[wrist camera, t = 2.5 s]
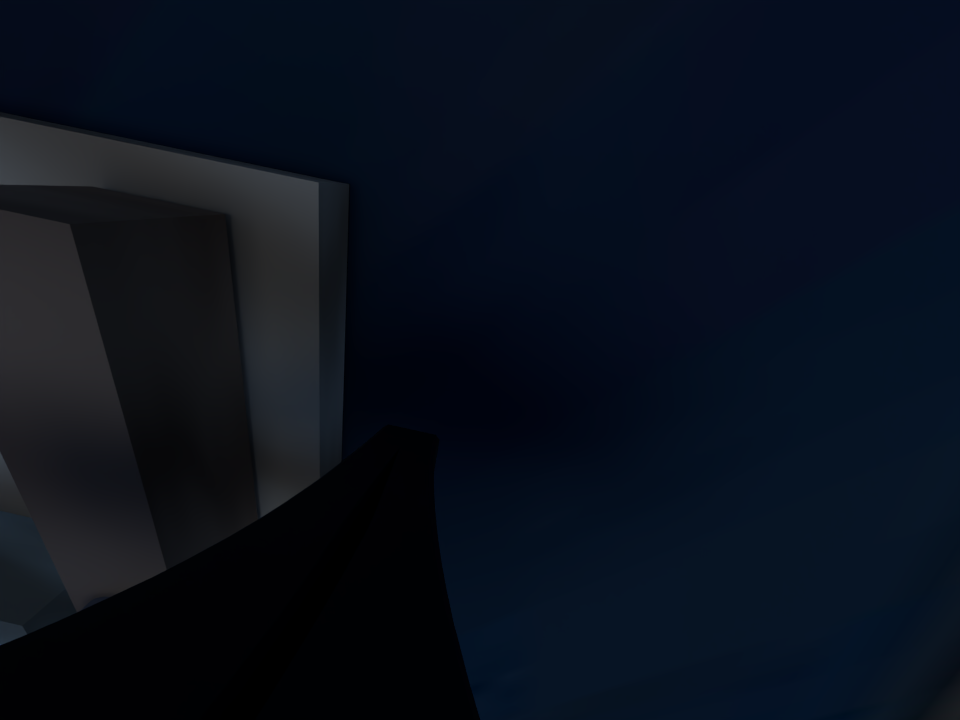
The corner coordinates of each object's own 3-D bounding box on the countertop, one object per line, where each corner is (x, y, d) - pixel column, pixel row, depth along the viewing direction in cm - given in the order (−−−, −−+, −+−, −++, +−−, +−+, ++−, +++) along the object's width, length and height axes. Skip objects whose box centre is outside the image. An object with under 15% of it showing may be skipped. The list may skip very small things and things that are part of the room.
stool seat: (338, 573, 15) (271, 710, 11) (-2, 496, 16) (-187, 602, 12) (349, 184, 9) (206, 175, 5) (-223, 66, 9) (-807, -35, 5)
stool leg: (262, 564, 13) (167, 699, 9) (180, 545, 13) (56, 673, 9) (225, 214, 8) (-4, 228, 4) (92, 186, 8) (-233, 180, 5)
